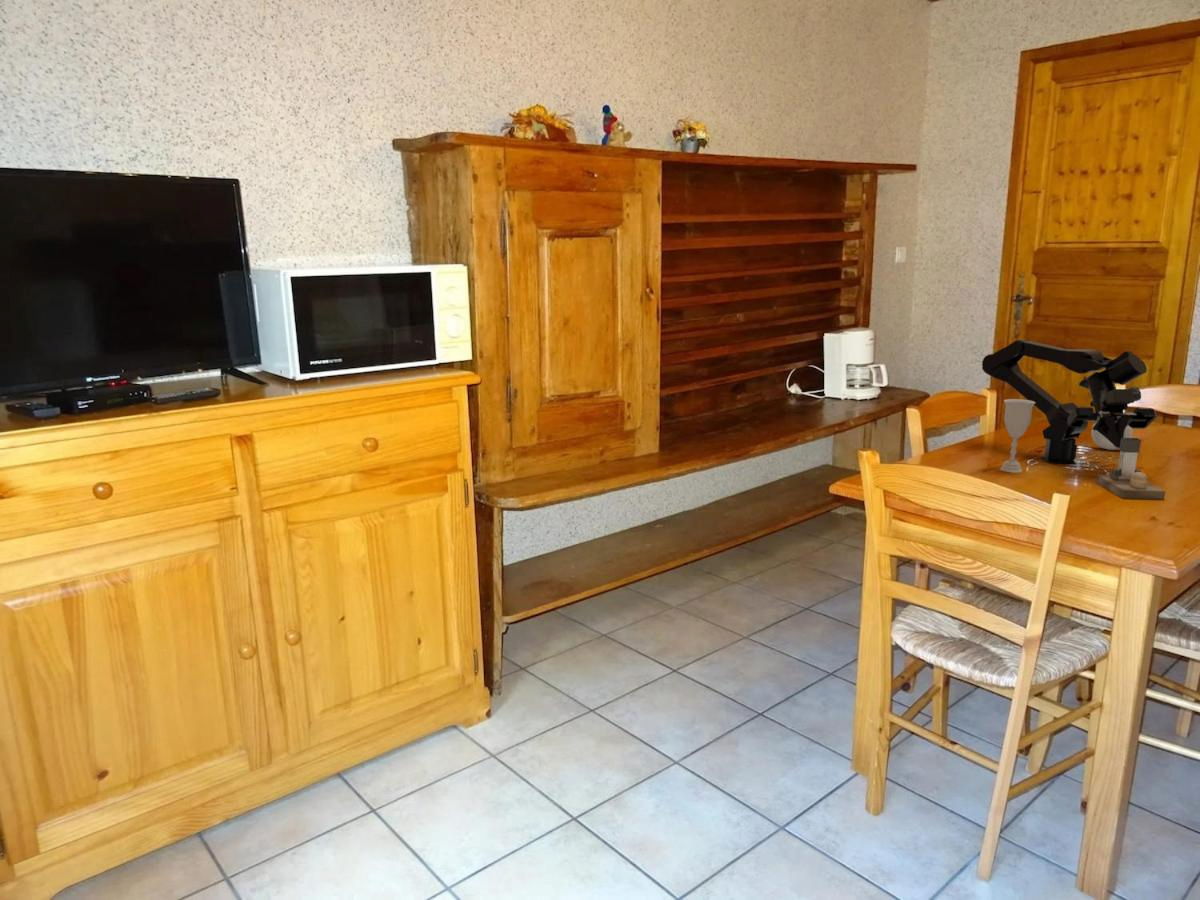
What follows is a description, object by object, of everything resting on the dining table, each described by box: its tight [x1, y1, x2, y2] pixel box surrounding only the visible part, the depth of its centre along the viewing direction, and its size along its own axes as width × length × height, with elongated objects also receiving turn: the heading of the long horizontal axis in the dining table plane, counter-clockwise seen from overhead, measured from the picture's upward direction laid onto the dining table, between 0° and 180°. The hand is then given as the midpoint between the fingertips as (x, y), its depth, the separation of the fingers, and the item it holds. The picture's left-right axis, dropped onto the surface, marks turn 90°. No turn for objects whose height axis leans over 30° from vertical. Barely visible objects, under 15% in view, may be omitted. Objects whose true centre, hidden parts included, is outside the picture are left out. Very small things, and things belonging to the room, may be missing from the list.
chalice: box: [999, 398, 1035, 474], centre depth 213 cm, size 7×7×18 cm
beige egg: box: [1130, 471, 1148, 489], centre depth 193 cm, size 3×3×4 cm
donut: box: [1091, 423, 1134, 451], centre depth 234 cm, size 10×4×10 cm, turn 59°
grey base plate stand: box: [1095, 468, 1166, 501], centre depth 197 cm, size 13×9×4 cm
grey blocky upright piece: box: [1117, 437, 1142, 477], centre depth 198 cm, size 2×3×9 cm, turn 84°
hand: (1119, 446), depth 203 cm, fingers closed
